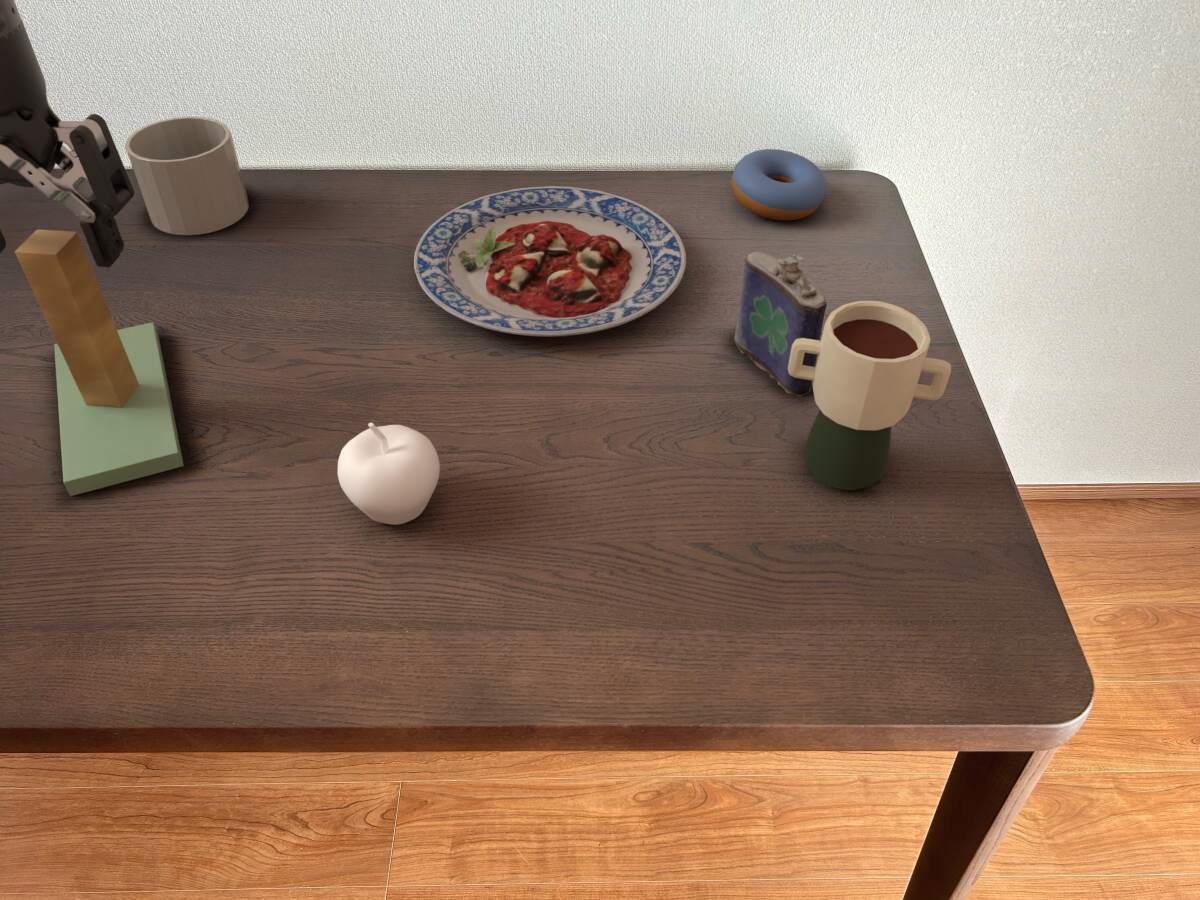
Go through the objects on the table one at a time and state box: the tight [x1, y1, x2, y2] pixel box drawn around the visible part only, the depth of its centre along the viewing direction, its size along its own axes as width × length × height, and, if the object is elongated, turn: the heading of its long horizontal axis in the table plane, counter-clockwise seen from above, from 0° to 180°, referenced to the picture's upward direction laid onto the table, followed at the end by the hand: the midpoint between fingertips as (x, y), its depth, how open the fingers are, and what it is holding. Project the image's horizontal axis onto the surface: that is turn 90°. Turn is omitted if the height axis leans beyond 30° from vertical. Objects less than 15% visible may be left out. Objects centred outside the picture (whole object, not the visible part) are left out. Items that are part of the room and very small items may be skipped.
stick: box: [14, 228, 139, 408], centre depth 73 cm, size 3×3×14 cm
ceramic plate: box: [413, 185, 687, 337], centre depth 93 cm, size 26×26×3 cm
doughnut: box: [730, 148, 827, 222], centre depth 102 cm, size 10×10×5 cm
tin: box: [124, 116, 250, 236], centre depth 98 cm, size 10×10×8 cm
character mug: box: [788, 300, 952, 491], centre depth 70 cm, size 11×7×13 cm, turn 76°
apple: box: [337, 422, 441, 526], centre depth 68 cm, size 7×7×8 cm
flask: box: [734, 251, 827, 398], centre depth 80 cm, size 9×3×11 cm, turn 31°
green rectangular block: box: [53, 321, 184, 497], centre depth 78 cm, size 18×8×2 cm, turn 24°
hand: (52, 257), depth 69 cm, fingers open, 8 cm apart
